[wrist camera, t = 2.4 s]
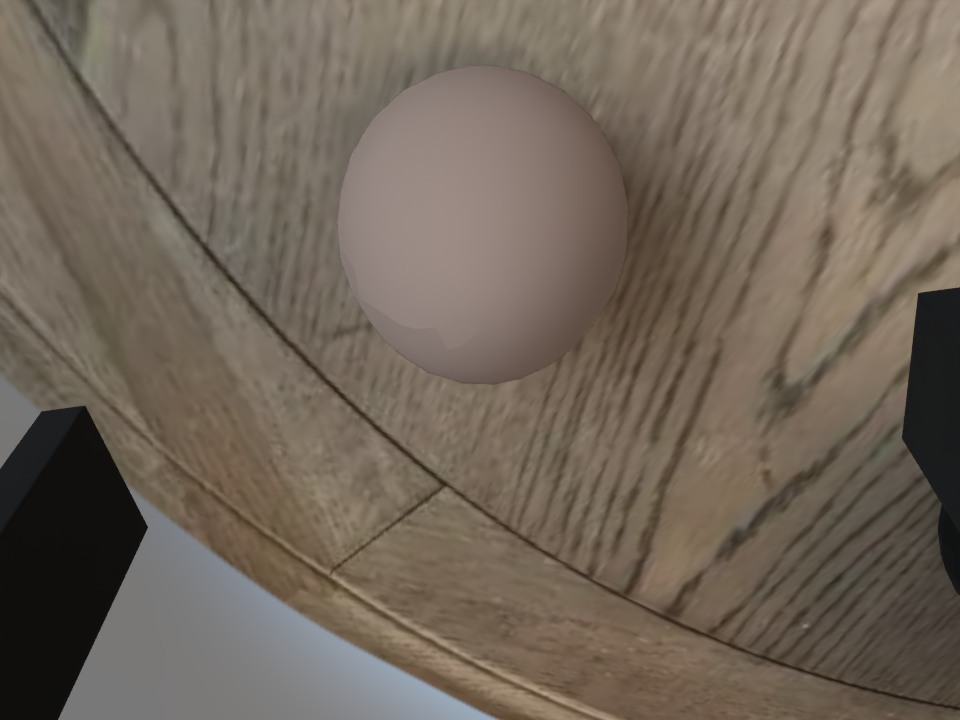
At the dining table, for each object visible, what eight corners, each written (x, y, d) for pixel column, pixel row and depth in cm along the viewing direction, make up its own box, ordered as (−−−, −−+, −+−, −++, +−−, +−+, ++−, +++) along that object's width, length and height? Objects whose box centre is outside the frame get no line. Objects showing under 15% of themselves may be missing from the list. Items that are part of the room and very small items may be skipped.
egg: (580, 275, 26) (618, 481, 19) (356, 248, 26) (299, 448, 18) (630, 46, 22) (702, 185, 15) (369, 10, 22) (306, 134, 14)
